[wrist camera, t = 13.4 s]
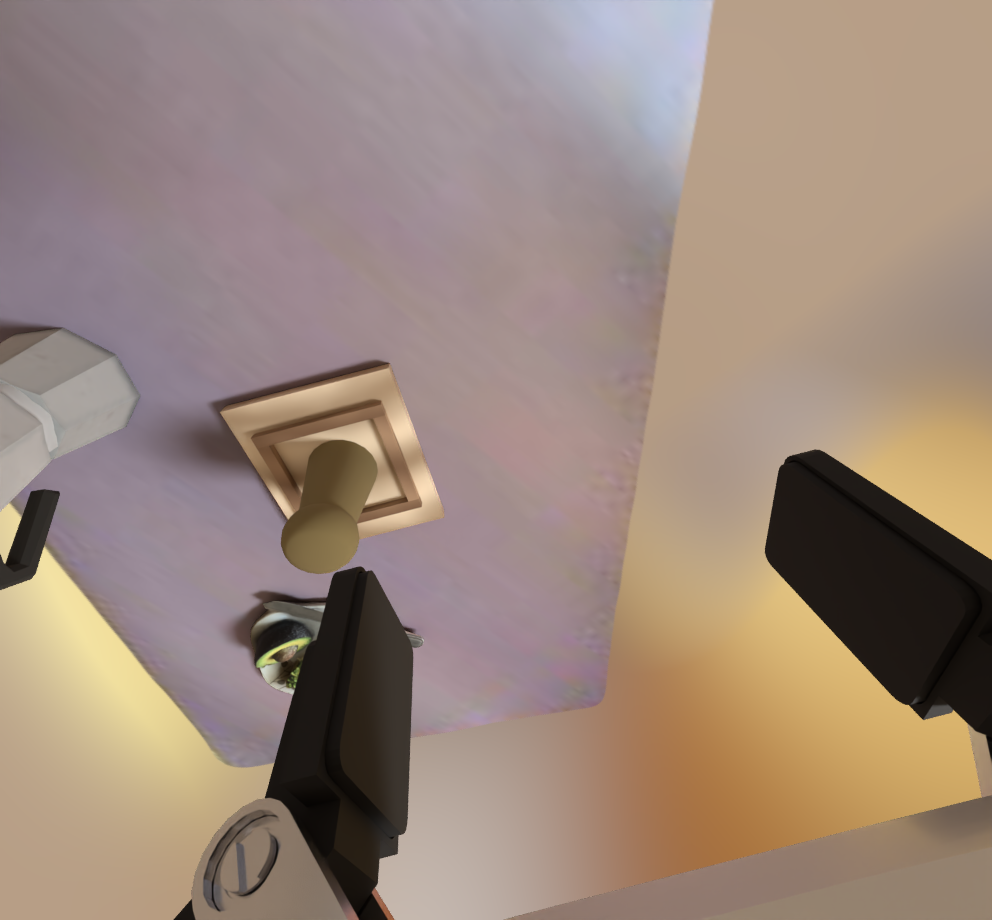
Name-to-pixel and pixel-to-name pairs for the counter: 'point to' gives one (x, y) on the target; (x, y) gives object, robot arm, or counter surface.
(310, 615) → the salad plate
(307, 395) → the maple board
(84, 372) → the coffee maker
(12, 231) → the counter surface
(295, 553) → the cork
